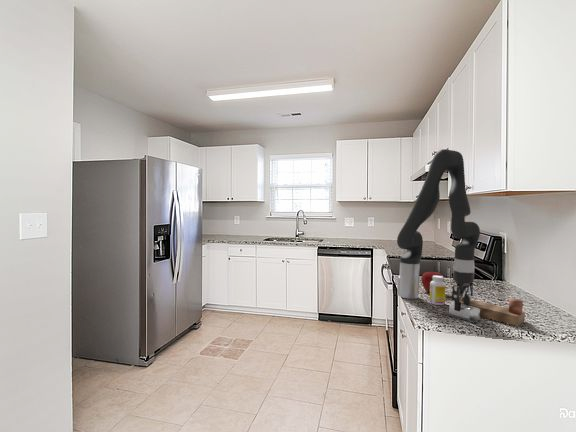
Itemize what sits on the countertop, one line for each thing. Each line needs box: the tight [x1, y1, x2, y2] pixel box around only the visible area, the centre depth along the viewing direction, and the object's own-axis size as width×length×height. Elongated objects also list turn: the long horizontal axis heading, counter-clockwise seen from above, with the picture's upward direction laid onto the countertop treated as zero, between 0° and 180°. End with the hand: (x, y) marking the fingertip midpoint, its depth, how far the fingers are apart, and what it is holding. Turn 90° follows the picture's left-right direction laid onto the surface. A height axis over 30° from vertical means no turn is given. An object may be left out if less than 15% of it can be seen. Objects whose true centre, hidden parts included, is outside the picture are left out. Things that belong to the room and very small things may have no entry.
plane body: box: [459, 297, 526, 327], centre depth 133 cm, size 23×9×11 cm, turn 39°
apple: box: [420, 271, 445, 294], centre depth 167 cm, size 11×11×12 cm
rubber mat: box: [443, 310, 482, 323], centre depth 131 cm, size 12×7×1 cm, turn 39°
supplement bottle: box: [429, 275, 446, 306], centre depth 148 cm, size 7×7×13 cm
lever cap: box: [448, 302, 481, 322], centre depth 130 cm, size 11×5×4 cm, turn 38°
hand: (461, 308), depth 131 cm, fingers open, 8 cm apart
